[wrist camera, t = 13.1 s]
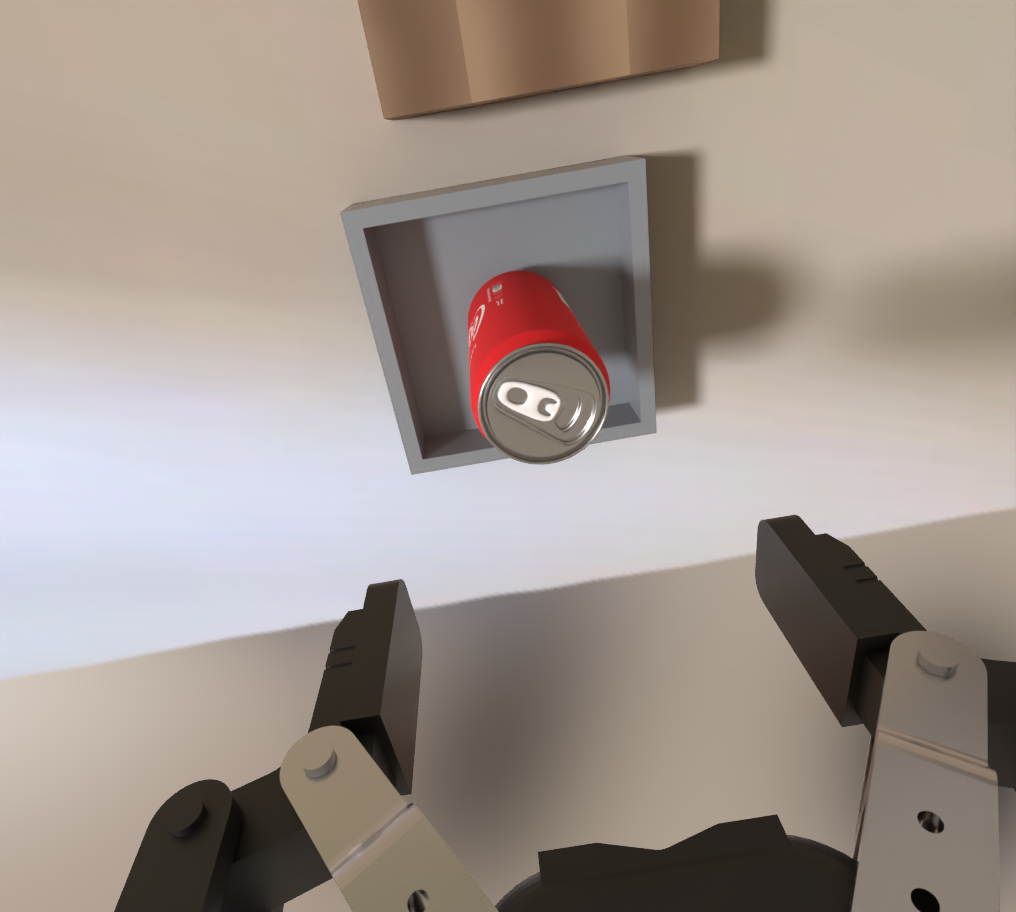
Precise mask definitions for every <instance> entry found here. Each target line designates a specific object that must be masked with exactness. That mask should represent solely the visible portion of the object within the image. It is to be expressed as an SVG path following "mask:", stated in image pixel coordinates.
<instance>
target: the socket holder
mask: <svg viewBox="0 0 1016 912" xmlns="http://www.w3.org/2000/svg"><path fill="white" fill-rule="evenodd" d="M358 5H359V9H360V14H361V18H362V23H363V27H364V32H365V36H366V40H367V45H368V49H369V54H370V58H371V63H372V67H373V72H374V76H375V81H376V85H377V90H378V94H379V99H380V103H381V108H382V112H383V116H384V119H388V120H397V119H402V118H408V117H413V116H419V115H425V114H430V113H436V112H441V111H447V110H452V109H458V108H464V107H469V106H475V105H480V104H486V103H491V102H497V101H503V100H508V99H514V98H519V97H525V96H531V95H536V94H542V93H547V92H553V91H558V90H564V89H570V88H575V87H581V86H586V85H592V84H597V83H603V82H609V81H614V80H620V79H625V78H631V77H637V76H642V75H648V74H653V73H659V72H664V71H670V70H676V69H681V68H687V67H692V66H695V65H699V64H702V63H706V62H710V61H713V60H717V59H719V18H720V0H358Z"/></svg>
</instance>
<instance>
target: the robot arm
mask: <svg viewBox="0 0 1016 912" xmlns="http://www.w3.org/2000/svg"><path fill="white" fill-rule="evenodd" d="M755 576H756V577H755V578H756V584H757V588H758V591H759V594H760V597H761V599H762V601H763V603H764V604H765V606H766V607H767V609H768V611H769V612H770V613H771V615H772V617H773V618H774V620H775V622H776V623H777V625H778V626H779V628H780V630H781V631H782V632H783V634H784V636H785V638H786V639H787V640H788V642H789V644H790V645H791V647H792V648H793V650H794V652H795V653H796V655H797V656H798V658H799V660H800V661H801V663H802V664H803V666H804V667H805V669H806V671H807V672H808V674H809V675H810V677H811V678H812V680H813V682H814V683H815V685H816V687H817V688H818V690H819V691H820V693H821V694H822V696H823V697H824V699H825V701H826V702H827V704H828V706H829V707H830V709H831V710H832V712H833V713H834V715H835V717H836V718H837V720H838V721H839V723H840V725H841V726H842V727H846V726H852V725H858V724H864V725H865V727H866V728H867V730H868V731H869V732H870V734H871V740H870V744H869V751H868V756H867V762H866V769H865V775H864V781H863V787H862V793H861V800H860V805H859V812H858V818H857V824H856V830H855V835H854V841H853V846H852V851H851V856H850V857H849V856H847V855H846V854H844V853H842V852H840V851H838V850H836V849H833V848H831V847H829V846H827V845H824V844H821V843H819V842H816V841H813V840H810V839H806V838H802V837H798V836H793V835H786V833H785V831H784V829H783V826H782V824H781V822H780V820H779V818H778V816H777V815H771V816H764V817H758V818H752V819H745V820H739V821H732V822H726V823H720V824H717V825H714V826H712V827H711V828H708V829H706V830H704V831H702V832H700V833H698V834H696V835H694V836H692V837H689V838H687V839H685V840H683V841H681V842H679V843H677V844H675V845H673V846H671V847H669V848H666V849H662V850H652V849H643V848H635V847H627V846H618V845H609V844H602V843H592V844H586V845H580V846H574V847H568V848H561V849H554V850H548V851H542V852H538V857H539V866H540V872H538V873H536V874H534V875H532V876H531V877H529V878H527V879H525V880H524V881H522V882H521V883H519V884H518V885H516V886H515V887H514V888H513V889H512V890H511V891H509V892H508V893H507V894H506V895H505V896H504V897H503V898H502V899H501V900H500V901H499V902H498V903H497V905H496V906H494V905H493V904H492V902H491V901H490V900H489V898H488V897H487V896H486V894H485V893H484V892H483V890H482V889H481V888H480V887H479V885H478V884H477V883H476V882H475V880H474V879H473V878H472V876H471V875H470V874H469V873H468V872H467V870H466V869H465V867H464V866H463V865H462V864H461V862H460V861H459V860H458V858H457V857H456V856H455V855H454V853H453V852H452V851H451V850H450V848H449V847H448V846H447V844H446V843H445V842H444V840H443V839H442V838H441V837H440V835H439V834H438V833H437V832H436V830H435V829H434V828H433V826H432V825H431V824H430V823H429V821H428V820H427V819H426V817H425V816H424V815H423V814H422V813H421V811H420V810H419V809H418V808H417V807H416V806H415V805H414V804H412V803H411V804H410V805H408V804H407V803H406V802H405V801H404V799H403V798H402V797H401V795H408V794H411V790H412V778H413V766H414V753H415V740H416V728H417V715H418V702H419V689H420V676H421V665H422V642H421V635H420V630H419V626H418V623H417V620H416V617H415V613H414V610H413V607H412V604H411V601H410V598H409V594H408V591H407V588H406V585H405V583H404V581H403V580H402V579H400V580H394V581H388V582H382V583H376V584H370V585H369V586H368V588H367V593H366V597H365V602H364V607H363V609H360V610H354V611H348V613H347V614H346V615H345V617H344V618H343V619H342V621H341V622H340V624H339V625H338V626H337V628H336V629H335V632H334V635H333V639H332V643H331V647H330V654H328V658H327V662H326V670H324V674H323V678H322V682H321V686H320V689H319V693H318V697H317V701H316V705H315V709H314V713H313V717H312V720H311V724H310V728H309V731H308V734H306V735H305V736H303V737H302V738H301V739H300V740H298V741H297V742H296V743H295V744H294V745H293V746H292V748H291V749H290V750H289V751H288V753H287V755H286V756H285V758H284V760H283V763H282V765H281V767H280V768H278V769H277V770H275V771H273V772H272V773H270V774H268V775H266V776H264V777H261V778H259V779H257V780H255V781H253V782H250V783H248V784H246V785H244V786H242V787H240V788H237V789H235V790H233V791H230V790H229V788H228V787H227V786H226V785H225V784H224V783H223V782H221V781H218V780H210V779H209V780H202V781H198V782H195V783H193V784H190V785H188V786H186V787H184V788H183V789H181V790H179V791H178V792H177V793H175V794H174V795H173V796H172V797H170V798H169V799H168V800H167V801H166V802H165V803H164V804H163V805H162V806H161V807H160V809H159V810H158V811H157V812H156V814H155V815H154V817H153V818H152V820H151V822H150V824H149V826H148V828H147V831H146V833H145V836H144V838H143V841H142V843H141V846H140V848H139V851H138V853H137V856H136V858H135V861H134V863H133V866H132V868H131V871H130V873H129V876H128V878H127V881H126V884H125V886H124V888H123V891H122V893H121V896H120V899H119V901H118V903H117V906H116V909H115V911H114V912H283V906H284V903H286V902H288V901H290V900H292V899H293V898H296V897H297V896H299V895H301V894H303V893H305V892H307V891H309V890H311V889H313V888H314V887H316V886H318V885H320V884H322V883H324V882H326V881H328V880H330V879H332V878H334V880H335V882H336V883H337V885H338V887H339V889H340V891H341V892H342V894H343V896H344V897H345V899H346V901H347V903H348V905H349V906H350V908H351V910H352V911H353V912H1000V889H999V887H1000V885H999V826H998V786H1002V787H1008V788H1014V789H1015V791H1016V662H1007V661H996V660H988V659H982V658H980V657H979V656H978V655H977V654H976V653H975V652H974V651H973V650H971V649H970V648H969V647H967V646H966V645H964V644H963V643H961V642H959V641H957V640H955V639H953V638H951V637H948V636H946V635H943V634H939V633H934V632H928V631H927V630H926V629H925V628H924V627H923V626H922V625H921V624H920V623H919V622H918V621H917V619H916V618H915V617H914V616H913V615H912V614H911V613H910V612H909V611H908V610H907V609H906V608H905V606H904V605H903V604H902V603H901V602H900V601H899V600H898V599H897V598H896V597H895V596H894V594H893V593H891V591H890V590H889V589H888V588H887V587H886V586H885V585H884V584H883V583H882V582H881V581H880V580H879V581H878V579H877V576H876V575H875V574H874V573H873V572H872V571H871V570H870V569H869V567H866V566H865V563H864V562H863V561H862V560H861V559H860V558H859V557H858V555H857V554H856V553H855V552H854V551H853V550H852V549H851V548H850V547H849V546H848V545H846V544H844V543H842V542H841V541H839V540H837V539H835V538H833V537H832V536H830V535H828V534H826V533H825V534H819V535H815V534H814V533H813V532H812V531H811V529H810V528H809V527H808V526H807V525H806V524H805V522H804V521H803V520H802V519H801V518H800V517H799V516H797V515H790V516H784V517H778V518H772V519H766V520H762V521H760V522H759V525H758V533H757V551H756V569H755Z"/></svg>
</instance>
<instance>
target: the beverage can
mask: <svg viewBox="0 0 1016 912" xmlns="http://www.w3.org/2000/svg"><path fill="white" fill-rule="evenodd" d="M468 345H469V372H470V398H471V408H472V412H473V416H474V419H475V421H476V424H477V426H478V428H479V430H480V432H481V433H482V434H483V436H484V437H485V438H486V439H487V440H488V441H489V442H490V443H491V444H492V445H493V446H494V447H495V448H496V449H498V450H499V451H500V452H501V453H503V454H504V455H506V456H508V457H510V458H512V459H514V460H517V461H520V462H524V463H529V464H551V463H556V462H560V461H563V460H566V459H568V458H570V457H572V456H574V455H576V454H578V453H579V452H581V451H582V450H583V449H585V448H586V447H587V446H588V445H589V444H590V443H591V442H592V441H593V440H594V439H595V437H596V436H597V435H598V433H599V432H600V430H601V428H602V426H603V424H604V422H605V419H606V416H607V412H608V406H609V401H610V381H609V376H608V372H607V369H606V367H605V365H604V363H603V361H602V359H601V357H600V356H599V354H598V353H597V351H596V349H595V348H594V346H593V345H592V343H591V341H590V340H589V338H588V336H587V335H586V333H585V332H584V330H583V328H582V327H581V325H580V324H579V322H578V320H577V319H576V317H575V315H574V314H573V312H572V311H571V309H570V307H569V306H568V304H567V302H566V301H565V299H564V298H563V296H562V294H561V293H560V291H559V290H558V289H557V287H556V286H555V285H554V284H553V283H552V282H550V281H549V280H548V279H546V278H545V277H543V276H541V275H539V274H536V273H533V272H529V271H519V270H518V271H509V272H505V273H502V274H499V275H497V276H495V277H493V278H492V279H490V280H489V281H487V282H486V283H485V284H484V285H483V286H482V287H481V288H480V289H479V290H478V292H477V293H476V295H475V296H474V298H473V300H472V302H471V305H470V308H469V313H468Z"/></svg>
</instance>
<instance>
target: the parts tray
mask: <svg viewBox="0 0 1016 912" xmlns="http://www.w3.org/2000/svg"><path fill="white" fill-rule="evenodd" d="M340 215H341V218H342V222H343V226H344V229H345V233H346V237H347V240H348V244H349V247H350V251H351V255H352V258H353V262H354V266H355V269H356V273H357V277H358V280H359V284H360V288H361V291H362V295H363V299H364V302H365V306H366V310H367V313H368V317H369V321H370V324H371V328H372V332H373V335H374V339H375V343H376V346H377V350H378V354H379V357H380V361H381V365H382V368H383V372H384V376H385V379H386V383H387V387H388V390H389V394H390V398H391V401H392V405H393V409H394V412H395V416H396V420H397V423H398V427H399V431H400V434H401V438H402V442H403V445H404V449H405V453H406V456H407V460H408V464H409V467H410V471H411V475H413V474H419V473H425V472H430V471H436V470H442V469H448V468H454V467H460V466H465V465H471V464H477V463H483V462H489V461H495V460H501V459H506V458H510V457H508V456H506V455H504V454H503V453H501V452H500V451H499V450H498V449H496V448H495V447H494V446H493V445H492V444H491V443H490V442H489V441H488V440H487V439H486V438H485V437H484V436H483V434H482V433H481V432H480V430H479V428H478V426H477V424H476V421H475V419H474V416H473V412H472V408H471V398H470V372H469V345H468V313H469V308H470V305H471V302H472V300H473V298H474V296H475V295H476V293H477V292H478V290H479V289H480V288H481V287H482V286H483V285H484V284H485V283H486V282H487V281H489V280H490V279H492V278H493V277H495V276H497V275H499V274H502V273H505V272H509V271H518V270H519V271H529V272H533V273H536V274H539V275H541V276H543V277H545V278H546V279H548V280H549V281H550V282H552V283H553V284H554V285H555V286H556V287H557V289H558V290H559V291H560V293H561V294H562V296H563V298H564V299H565V301H566V302H567V304H568V306H569V307H570V309H571V311H572V312H573V314H574V315H575V317H576V319H577V320H578V322H579V324H580V325H581V327H582V328H583V330H584V332H585V333H586V335H587V336H588V338H589V340H590V341H591V343H592V345H593V346H594V348H595V349H596V351H597V353H598V354H599V356H600V357H601V359H602V361H603V363H604V365H605V367H606V369H607V372H608V376H609V381H610V401H609V406H608V412H607V416H606V419H605V422H604V424H603V426H602V428H601V430H600V432H599V433H598V435H597V436H596V437H595V439H594V440H593V441H592V442H591V443H590V444H594V443H600V442H606V441H612V440H617V439H623V438H629V437H635V436H641V435H647V434H652V433H656V408H655V383H654V358H653V333H652V309H651V284H650V259H649V234H648V209H647V185H646V160H645V158H640V157H633V156H620V157H615V158H609V159H603V160H598V161H592V162H586V163H581V164H575V165H570V166H564V167H558V168H553V169H547V170H541V171H536V172H530V173H525V174H519V175H513V176H508V177H502V178H496V179H491V180H485V181H479V182H474V183H468V184H463V185H457V186H451V187H446V188H440V189H434V190H429V191H423V192H418V193H412V194H406V195H401V196H395V197H389V198H384V199H378V200H372V201H367V202H361V203H356V204H352V205H350V206H349V207H347V208H346V209H344V210H343V211H341V212H340Z"/></svg>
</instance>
